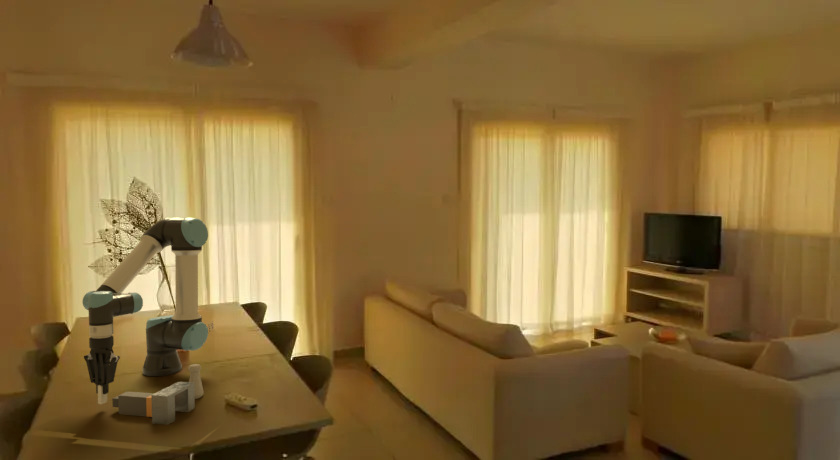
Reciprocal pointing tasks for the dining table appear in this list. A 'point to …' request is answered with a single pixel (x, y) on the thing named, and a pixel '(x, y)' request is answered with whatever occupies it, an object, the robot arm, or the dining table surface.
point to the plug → (134, 403)
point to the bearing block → (172, 402)
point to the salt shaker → (196, 379)
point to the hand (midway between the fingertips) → (102, 402)
